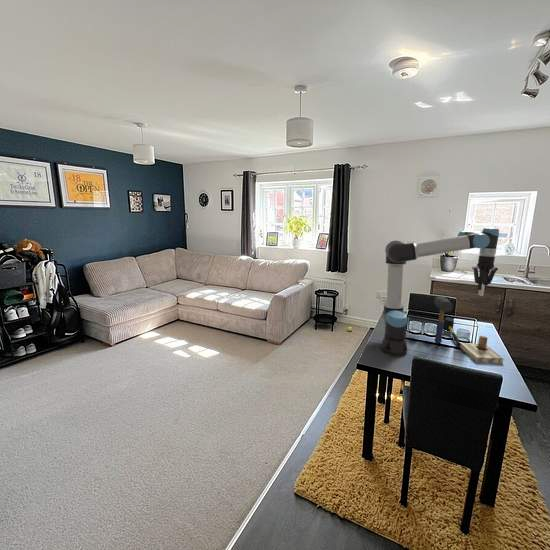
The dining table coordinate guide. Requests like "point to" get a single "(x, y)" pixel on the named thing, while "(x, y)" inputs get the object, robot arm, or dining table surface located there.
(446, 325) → the mallet
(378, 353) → the dining table surface
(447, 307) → the rubber mallet
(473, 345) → the board
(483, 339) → the peg
